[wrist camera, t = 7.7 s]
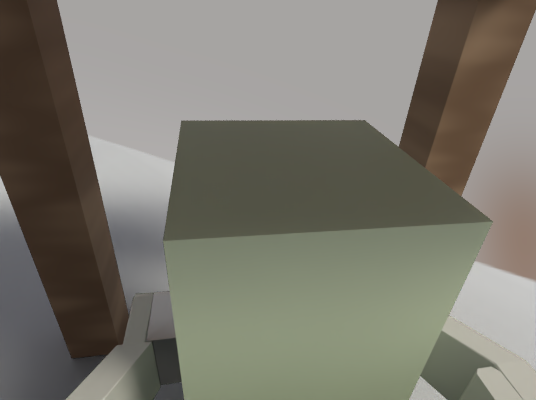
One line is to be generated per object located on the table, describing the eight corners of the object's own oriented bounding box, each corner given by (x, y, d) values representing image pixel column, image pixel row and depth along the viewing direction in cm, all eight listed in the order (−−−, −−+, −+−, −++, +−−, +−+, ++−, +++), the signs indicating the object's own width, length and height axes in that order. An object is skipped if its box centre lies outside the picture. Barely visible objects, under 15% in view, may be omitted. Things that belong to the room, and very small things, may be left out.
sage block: (202, 534, 10) (163, 240, 5) (201, 375, 14) (181, 120, 9) (359, 502, 11) (493, 221, 5) (315, 361, 15) (364, 120, 10)
